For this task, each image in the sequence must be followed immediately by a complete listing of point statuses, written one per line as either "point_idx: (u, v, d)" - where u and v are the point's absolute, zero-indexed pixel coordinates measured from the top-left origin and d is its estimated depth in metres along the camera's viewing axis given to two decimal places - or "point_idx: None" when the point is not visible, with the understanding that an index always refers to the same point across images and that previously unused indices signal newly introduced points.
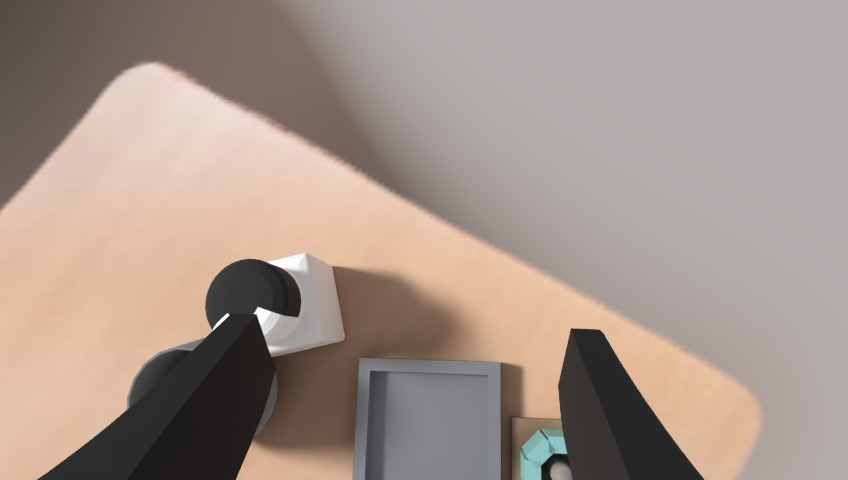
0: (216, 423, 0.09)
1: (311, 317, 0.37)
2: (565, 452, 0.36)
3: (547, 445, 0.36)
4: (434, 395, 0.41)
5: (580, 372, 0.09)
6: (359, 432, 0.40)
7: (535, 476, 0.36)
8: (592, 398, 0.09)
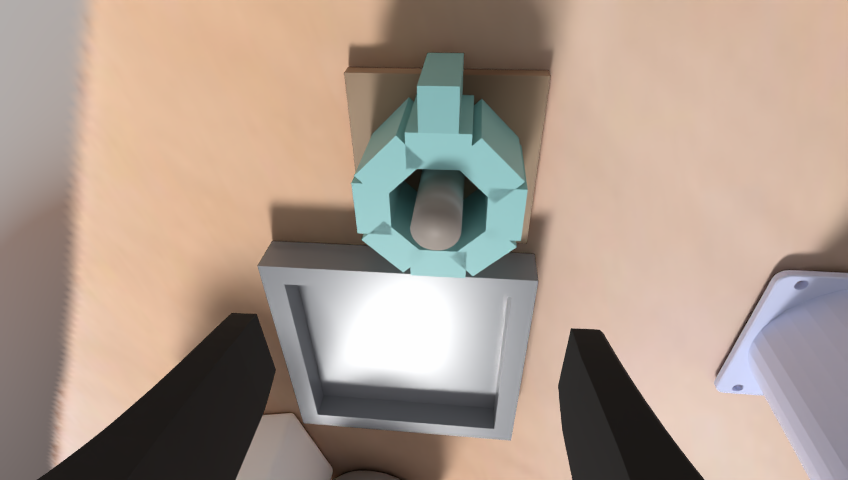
0: (216, 423, 0.09)
1: None
2: (386, 204, 0.16)
3: (376, 236, 0.17)
4: (345, 333, 0.25)
5: (580, 372, 0.09)
6: (405, 428, 0.27)
7: (441, 260, 0.17)
8: (592, 398, 0.09)
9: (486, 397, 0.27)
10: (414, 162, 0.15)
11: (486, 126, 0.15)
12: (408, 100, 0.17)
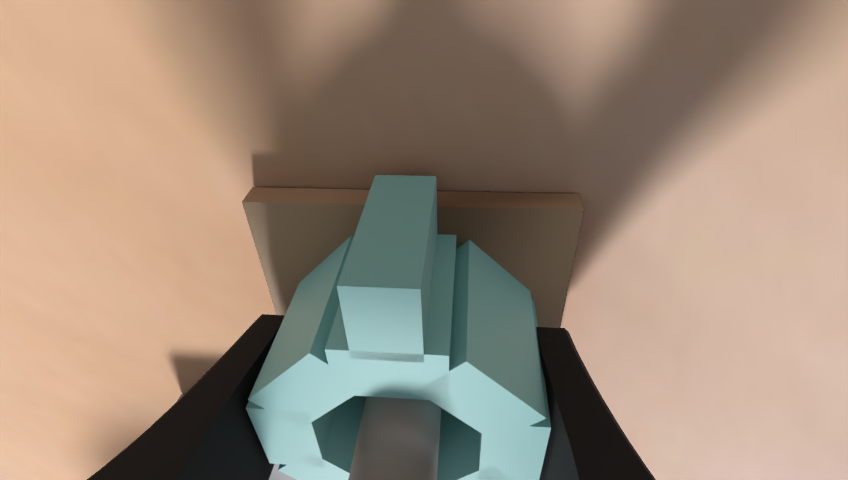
0: (252, 426, 0.09)
1: None
2: (309, 435, 0.09)
3: (301, 467, 0.10)
4: None
5: None
6: None
7: None
8: (551, 396, 0.09)
9: None
10: (348, 387, 0.08)
11: (476, 313, 0.09)
12: (349, 244, 0.10)
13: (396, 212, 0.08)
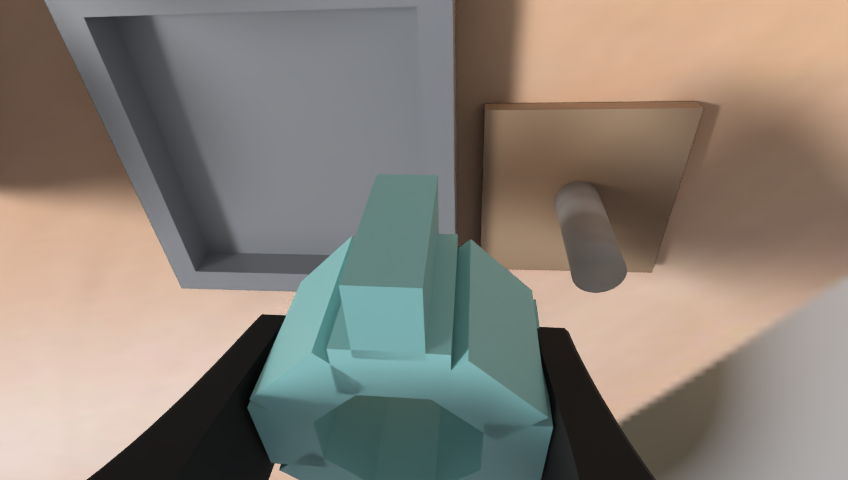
0: (251, 426, 0.09)
1: None
2: (311, 435, 0.09)
3: (302, 467, 0.10)
4: (289, 65, 0.16)
5: None
6: (133, 167, 0.17)
7: None
8: (551, 396, 0.09)
9: (226, 243, 0.21)
10: (350, 387, 0.08)
11: (478, 312, 0.09)
12: (350, 243, 0.10)
13: (397, 211, 0.08)
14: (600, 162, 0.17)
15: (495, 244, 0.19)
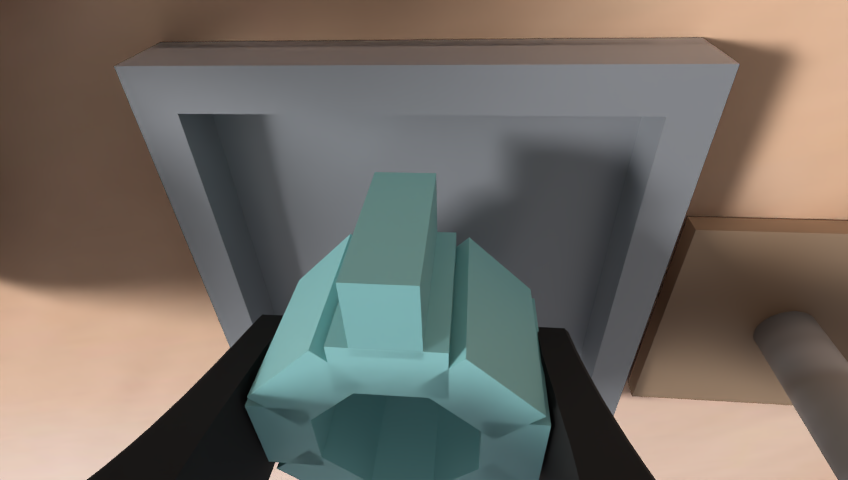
0: (251, 426, 0.09)
1: None
2: (308, 433, 0.09)
3: (300, 465, 0.10)
4: (440, 169, 0.12)
5: None
6: (217, 287, 0.13)
7: None
8: (551, 396, 0.09)
9: None
10: (347, 385, 0.08)
11: (476, 310, 0.09)
12: (348, 241, 0.10)
13: (395, 209, 0.08)
14: (832, 292, 0.13)
15: (660, 372, 0.15)
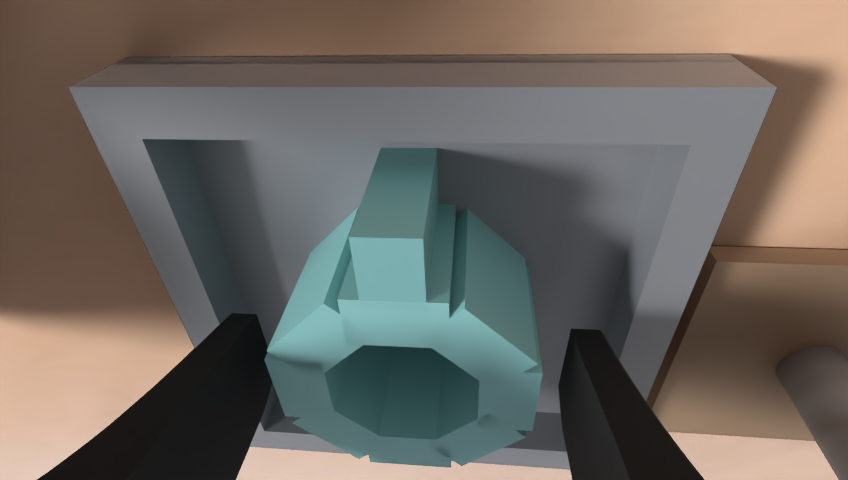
0: (216, 423, 0.09)
1: None
2: (322, 386, 0.10)
3: (313, 419, 0.11)
4: None
5: (580, 372, 0.09)
6: (194, 320, 0.12)
7: (413, 447, 0.11)
8: (592, 398, 0.09)
9: None
10: (358, 337, 0.09)
11: (474, 270, 0.09)
12: (357, 213, 0.11)
13: (400, 178, 0.09)
14: None
15: (673, 407, 0.14)
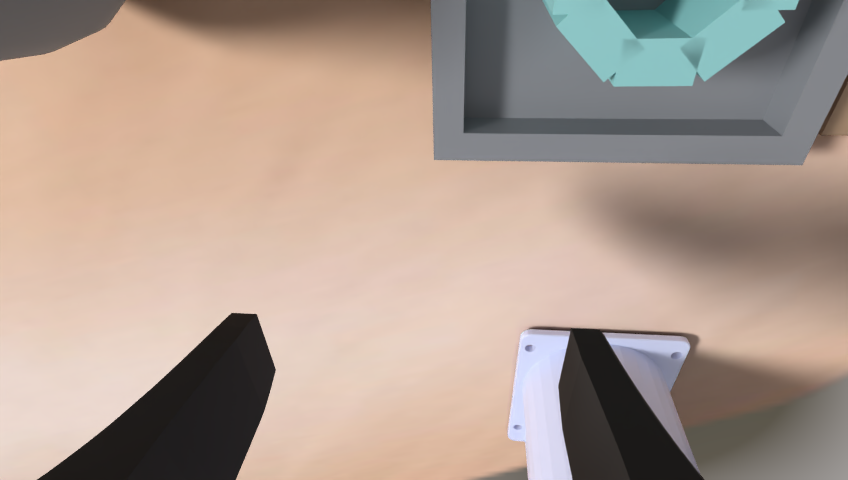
0: (216, 423, 0.09)
1: None
2: None
3: (580, 17, 0.12)
4: None
5: (580, 372, 0.09)
6: None
7: (664, 55, 0.12)
8: (592, 398, 0.09)
9: (492, 104, 0.17)
10: None
11: None
12: None
13: None
14: None
15: None
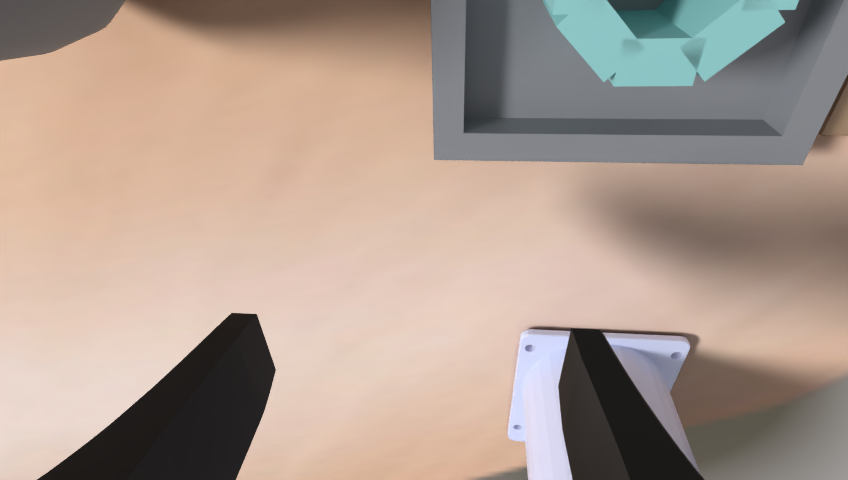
0: (216, 423, 0.09)
1: None
2: None
3: (580, 17, 0.12)
4: None
5: (580, 372, 0.09)
6: None
7: (665, 55, 0.12)
8: (592, 398, 0.09)
9: (492, 104, 0.17)
10: None
11: None
12: None
13: None
14: None
15: None
